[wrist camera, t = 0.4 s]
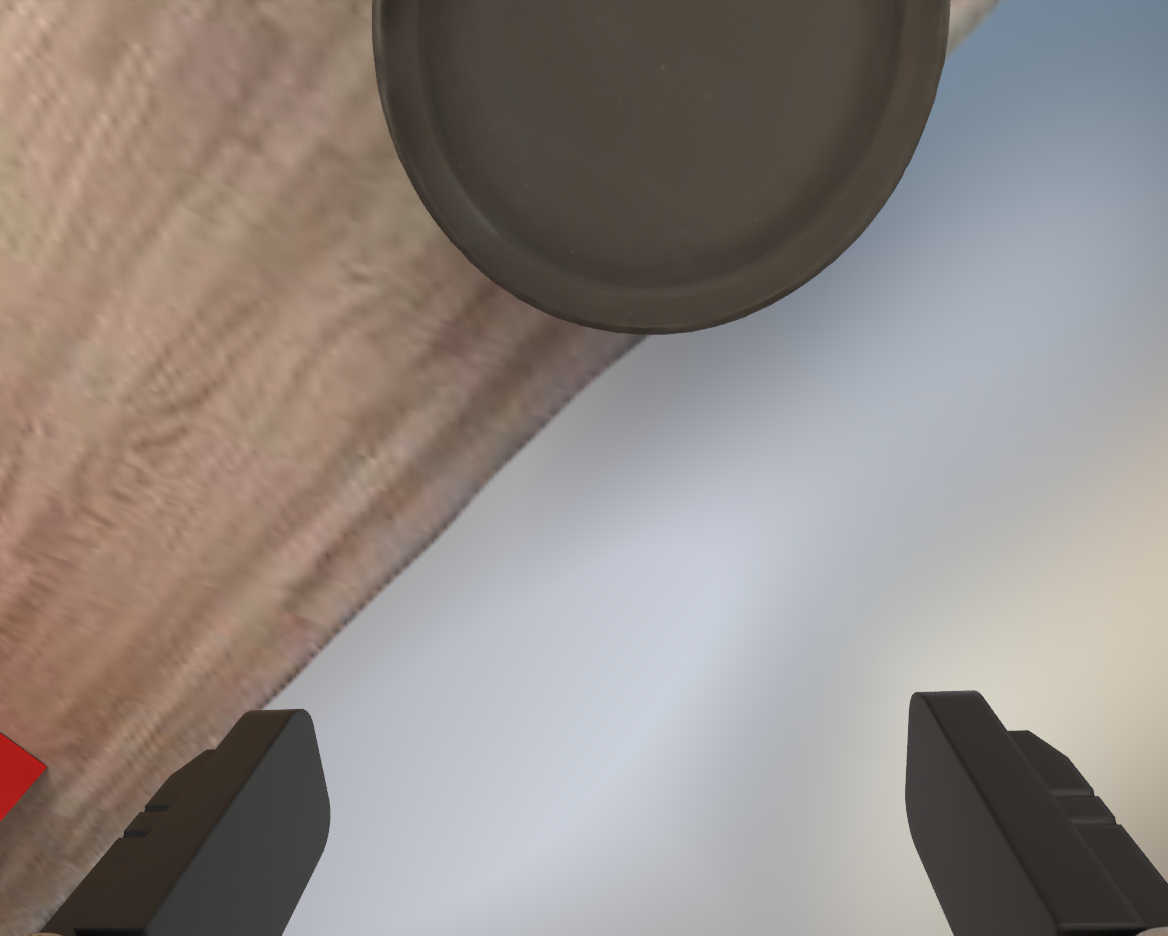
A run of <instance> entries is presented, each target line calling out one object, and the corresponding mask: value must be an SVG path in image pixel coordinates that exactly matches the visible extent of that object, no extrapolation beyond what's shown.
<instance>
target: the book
mask: <svg viewBox="0 0 1168 936" xmlns="http://www.w3.org/2000/svg"><path fill="white" fill-rule="evenodd" d="M46 768H47V767H46V766H45V765H44V764H42V763H41V762H40V761H38V760H37V759H35V758H34V757H33V756H31V755H30V754H28V753H27V752H26V751H24V750H23V749H22V748H20V747H19V746H17V745H16V744H15V743H13V742H12V741H11V740H9V739H8V738H6V737H5V736H4V735H2V734H1V733H0V821H1V820H2V819H3V818H4V816H5V815H6V814H7V813H8V812H9V811H10V810H11V808H12V807H13V806H14V805H15V804H16V803H17V801H18V800H19V799H20V798H21V797H22V796H23V794H24V793H25V792H26V791H27V790H28V789H29V787H30V786H31V785H32V784H33V783H34V782H35V781H36V779H37V778H38V777H39V776H40V775H41V774H42V772H43V771H44V770H45V769H46Z"/></svg>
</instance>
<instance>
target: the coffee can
mask: <svg viewBox="0 0 1168 936" xmlns="http://www.w3.org/2000/svg"><path fill="white" fill-rule="evenodd" d="M949 16H950V0H373V2H372V42H373V53H374V61H375V69H376V77H377V84H378V90H379V94H380V99H381V104H382V108H383V112H384V115H385V119H386V122H387V126H388V129H389V132H390V135H391V138H392V141H393V143H394V146H395V149H396V152H397V154H398V157H399V159H400V161H401V163H402V165H403V167H404V169H405V171H406V173H407V175H408V177H409V179H410V181H411V183H412V185H413V187H414V189H415V191H416V192H417V194H418V196H419V198H420V199H421V201H422V203H423V204H424V206H425V207H426V209H427V210H428V212H429V213H430V214H431V216H432V217H433V219H434V220H435V222H436V223H437V224H438V226H439V227H440V228H441V230H442V231H443V232H444V233H445V235H446V236H447V237H448V239H449V240H450V241H451V242H452V243H453V244H454V245H455V246H456V247H457V248H458V249H459V250H460V251H461V252H462V253H463V254H464V255H465V257H466V258H467V259H468V260H469V261H470V262H471V263H472V264H473V265H474V266H476V267H477V268H478V269H479V270H480V271H481V272H482V273H483V274H485V275H486V276H487V277H488V278H490V279H491V280H492V281H493V282H495V283H496V284H497V285H499V286H500V287H502V288H503V289H505V290H506V291H508V292H509V293H510V294H512V295H513V296H515V297H516V298H518V299H519V300H521V301H523V302H525V303H527V304H529V305H531V306H533V307H535V308H536V309H539V310H541V311H543V312H545V313H547V314H549V315H551V316H553V317H556V318H559V319H562V320H565V321H568V322H571V323H574V324H577V325H580V326H584V327H589V328H593V329H598V330H604V331H610V332H616V333H626V334H638V335H658V334H659V335H660V334H661V335H662V334H663V335H664V334H675V333H685V332H694V331H698V330H702V329H707V328H711V327H716V326H719V325H722V324H726V323H729V322H732V321H735V320H738V319H741V318H743V317H746V316H748V315H750V314H752V313H754V312H756V311H759V310H761V309H763V308H765V307H767V306H770V305H772V304H773V303H775V302H777V301H778V300H780V299H782V298H784V297H785V296H787V295H789V294H790V293H792V292H793V291H795V290H797V289H798V288H799V287H801V286H803V285H804V284H805V283H807V282H808V281H810V280H811V279H813V278H814V277H815V276H817V275H818V274H819V273H821V271H823V270H824V269H825V268H826V267H827V266H829V265H830V264H831V263H833V262H834V261H835V260H836V259H837V258H838V257H839V256H840V255H841V254H842V253H843V252H844V251H845V250H846V249H847V248H848V247H849V246H851V244H852V243H854V241H856V240H857V238H858V237H860V235H861V234H862V233H863V232H864V231H865V229H866V228H867V227H868V226H869V225H870V223H871V222H872V221H873V220H874V218H875V217H876V215H877V214H878V213H879V212H880V210H881V209H882V208H883V206H884V205H885V203H886V202H887V200H888V199H889V197H890V196H891V194H892V193H893V191H894V190H895V188H896V186H897V185H898V183H899V181H900V180H901V178H902V176H903V174H904V171H905V169H906V168H907V166H908V164H909V163H910V161H911V159H912V156H913V154H914V152H915V150H916V147H917V145H918V142H919V140H920V138H921V136H922V133H923V131H924V128H925V125H926V123H927V120H928V117H929V115H930V112H931V109H932V106H933V104H934V101H935V97H936V92H937V88H938V84H939V80H940V77H941V73H942V69H943V66H944V62H945V55H946V47H947V40H948V31H949Z"/></svg>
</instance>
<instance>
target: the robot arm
mask: <svg viewBox="0 0 1168 936" xmlns="http://www.w3.org/2000/svg"><path fill="white" fill-rule="evenodd" d="M905 802H906V811H907V817H908V823H909V828H910V832H911V835H912V839H913V842H914V845H915V847H916V850H917V852H918V854H919V856H920V859H921V861H922V863H923V866H924V868H925V870H926V872H927V875H928V877H929V879H930V882H931V884H932V886H933V889H934V891H935V893H936V896H937V898H938V900H939V902H940V905H941V907H942V909H943V911H944V914H945V916H946V918H947V921H948V923H949V925H950V927H951V930H952V932H953V934H954V936H1168V883H1167V882H1166V881H1165V880H1164V878H1163V877H1162V876H1161V875H1160V873H1159V872H1158V871H1157V870H1156V868H1155V867H1154V866H1153V864H1152V863H1151V862H1150V861H1149V859H1148V858H1147V857H1146V856H1145V854H1144V853H1143V852H1142V851H1141V849H1140V848H1139V847H1138V845H1137V844H1136V843H1135V842H1134V840H1133V839H1132V838H1131V837H1130V835H1129V834H1128V833H1127V832H1126V830H1125V829H1124V828H1123V826H1122V825H1117V824H1116V821H1115V816H1114V815H1113V814H1112V813H1111V811H1110V810H1109V809H1108V807H1107V806H1106V805H1105V804H1104V802H1103V801H1102V800H1101V799H1100V797H1098V796H1095V795H1094V791H1093V789H1092V787H1091V786H1090V785H1089V783H1088V782H1087V781H1086V780H1085V778H1084V777H1083V776H1082V775H1081V773H1080V772H1079V771H1078V770H1077V768H1076V767H1075V766H1074V765H1073V763H1072V762H1071V761H1070V759H1069V758H1068V757H1067V756H1065V755H1064V754H1062V753H1061V752H1059V751H1058V750H1056V749H1055V748H1053V747H1052V746H1051V745H1049V744H1048V743H1046V742H1045V741H1043V740H1042V739H1040V738H1039V737H1037V736H1036V735H1034V734H1033V733H1032V732H1030V731H1028V730H1025V731H1007V730H1006V728H1005V727H1004V725H1003V724H1002V723H1001V721H1000V720H999V718H998V717H997V716H996V714H995V713H994V712H993V710H992V709H991V707H990V706H989V704H988V703H987V702H986V701H985V699H984V697H983V696H982V695H981V694H980V693H979V692H977V691H975V690H974V691H941V692H916V693H914V694H913V695H912V697H911V700H910V707H909V723H908V745H907V766H906V785H905ZM329 827H330V803H329V797H328V792H327V787H326V782H325V778H324V773H323V768H322V763H321V758H320V754H319V749H318V744H317V739H316V735H315V730H314V725H313V722H312V719H311V716H310V715H309V713H308V712H307V711H306V710H304V709H289V710H288V709H287V710H254V711H248V712H246V713H245V714H244V715H243V716H242V717H241V718H240V719H239V720H238V722H237V723H236V724H235V725H234V727H233V728H232V729H231V731H230V732H229V733H228V734H227V736H226V737H225V738H224V739H223V741H222V742H221V743H220V744H219V746H218V747H217V748H216V749H215V750H206V751H204V752H203V753H201V754H200V755H199V756H197V757H196V758H194V759H193V760H192V761H190V762H189V763H187V764H186V765H185V766H183V767H182V768H181V769H179V770H178V771H176V772H175V773H174V774H172V775H171V776H170V777H169V778H168V779H167V780H166V782H165V783H164V784H163V785H162V786H161V788H160V789H159V790H158V791H157V792H156V794H155V795H154V796H153V797H152V798H151V800H150V801H149V802H148V803H147V804H146V806H145V811H144V812H140V813H139V814H138V815H137V816H136V817H135V819H134V820H133V821H132V822H131V823H130V825H129V826H128V827H127V828H126V829H125V831H124V836H123V838H118V839H117V840H116V841H115V843H114V844H113V845H112V846H111V847H110V849H109V850H108V851H107V852H106V853H105V855H104V856H103V857H102V858H101V859H100V861H99V862H98V863H97V864H96V865H95V866H94V868H93V869H92V870H91V871H90V872H89V874H88V875H87V876H86V877H85V878H84V880H83V881H82V882H81V883H80V884H79V886H78V887H77V888H76V889H75V890H74V892H73V893H72V894H71V895H70V896H69V898H68V899H67V900H66V901H65V902H64V904H63V905H62V906H61V907H60V908H59V909H58V911H57V912H56V913H55V914H54V915H53V917H52V918H51V919H50V920H49V921H48V923H47V924H46V925H45V926H44V927H43V929H42V930H41V931H40V932H39V933H34V934H28V935H23V936H282V934H283V932H284V930H285V928H286V926H287V924H288V922H289V920H290V918H291V916H292V914H293V912H294V910H295V908H296V906H297V904H298V902H299V899H300V898H301V896H302V894H303V891H304V889H305V888H306V886H307V884H308V882H309V880H310V878H311V876H312V873H313V872H314V869H315V867H316V865H317V863H318V861H319V859H320V857H321V855H322V853H323V851H324V848H325V845H326V842H327V838H328V833H329Z"/></svg>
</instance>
